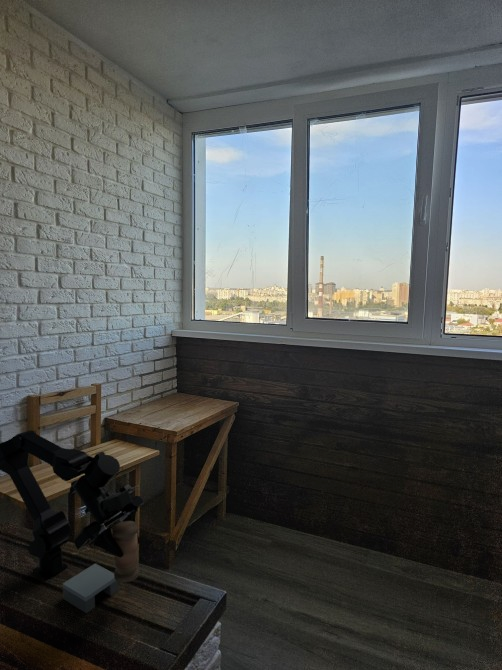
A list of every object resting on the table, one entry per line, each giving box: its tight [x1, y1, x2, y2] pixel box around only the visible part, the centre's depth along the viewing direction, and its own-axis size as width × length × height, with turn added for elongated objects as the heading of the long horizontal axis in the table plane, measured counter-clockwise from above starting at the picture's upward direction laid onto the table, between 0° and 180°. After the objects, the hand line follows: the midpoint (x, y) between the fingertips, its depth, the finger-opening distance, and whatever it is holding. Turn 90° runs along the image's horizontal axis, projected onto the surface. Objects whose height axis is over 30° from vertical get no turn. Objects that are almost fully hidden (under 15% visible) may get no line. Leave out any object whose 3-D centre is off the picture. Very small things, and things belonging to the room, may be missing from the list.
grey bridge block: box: [62, 563, 120, 614], centre depth 107 cm, size 9×9×4 cm
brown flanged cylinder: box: [111, 521, 141, 583], centre depth 104 cm, size 6×6×12 cm
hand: (130, 549), depth 103 cm, fingers closed on brown flanged cylinder, 5 cm apart
